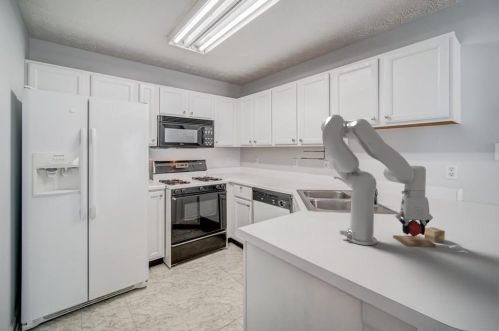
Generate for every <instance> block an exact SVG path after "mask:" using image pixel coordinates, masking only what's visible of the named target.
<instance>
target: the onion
mask: <svg viewBox="0 0 499 331" xmlns="http://www.w3.org/2000/svg"><path fill="white" fill-rule="evenodd" d="M408 226H409V234H408V235H410V236H413V237H415V236H420V235H421V234H420V233H421V231H422V228H421V225H420V222H419V221H418V220H409V223H408Z"/></svg>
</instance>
